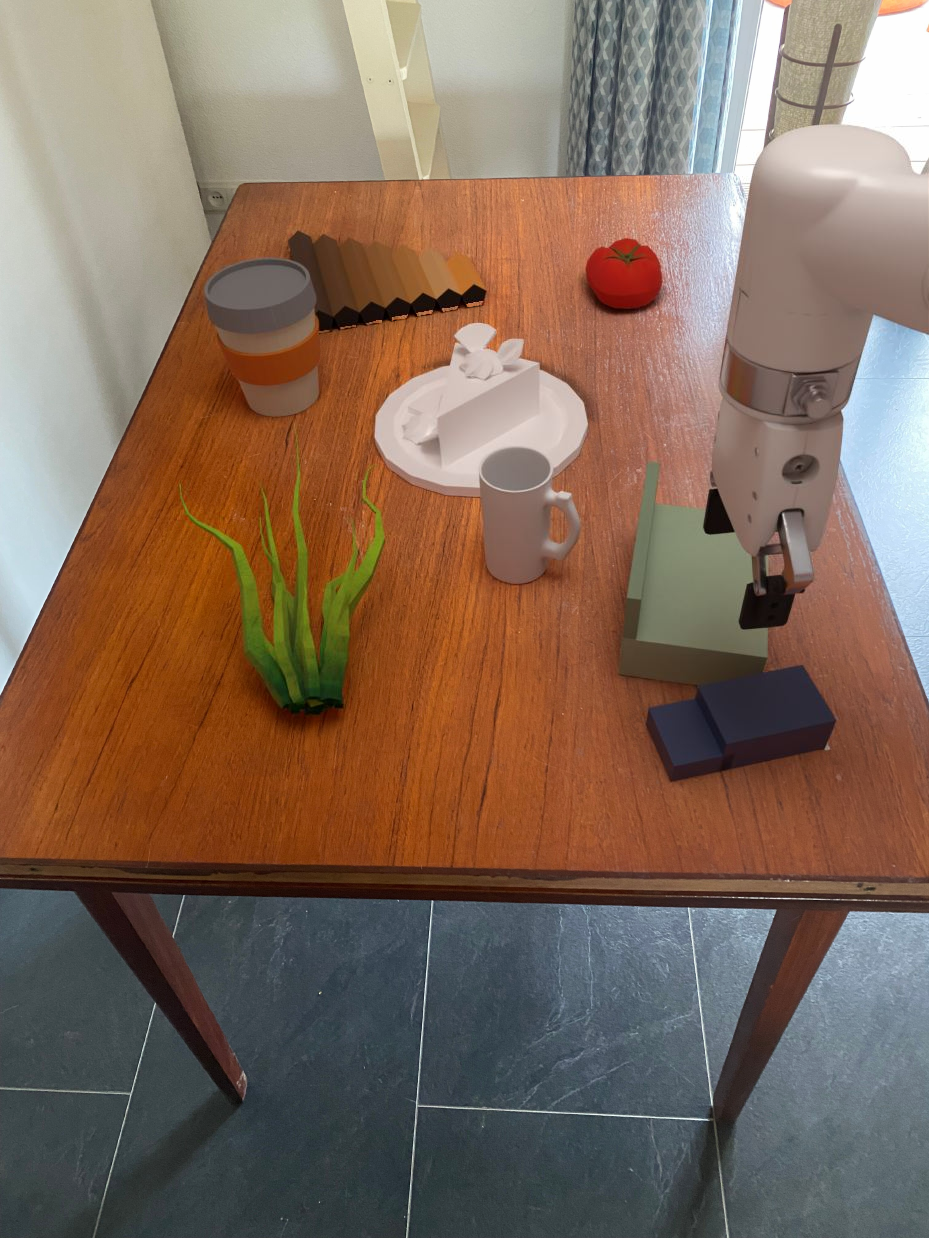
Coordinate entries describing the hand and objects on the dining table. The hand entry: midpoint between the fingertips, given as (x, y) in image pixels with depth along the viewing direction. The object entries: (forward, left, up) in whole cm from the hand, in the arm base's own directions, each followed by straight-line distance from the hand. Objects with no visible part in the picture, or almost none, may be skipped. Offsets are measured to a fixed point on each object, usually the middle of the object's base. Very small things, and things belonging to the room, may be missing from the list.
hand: (742, 575), depth 65 cm
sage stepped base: (+2, -12, -17) cm, 21 cm away
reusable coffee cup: (+54, -40, -17) cm, 69 cm away
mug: (+18, -15, -17) cm, 29 cm away
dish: (+28, -37, -17) cm, 49 cm away
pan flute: (+50, -71, -17) cm, 88 cm away
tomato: (+15, -70, -17) cm, 73 cm away
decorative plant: (+40, -6, -17) cm, 44 cm away
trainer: (-2, +3, -17) cm, 17 cm away
